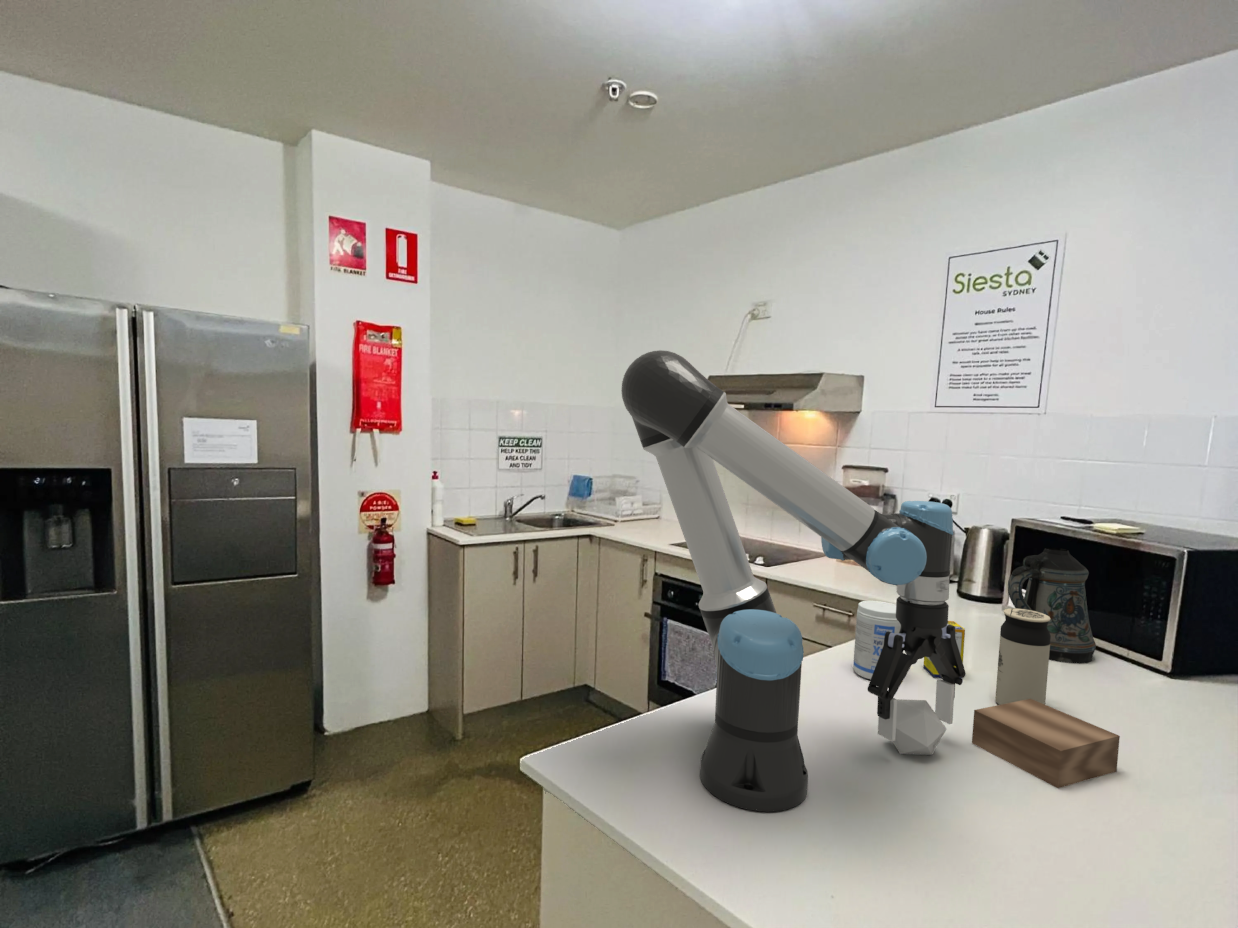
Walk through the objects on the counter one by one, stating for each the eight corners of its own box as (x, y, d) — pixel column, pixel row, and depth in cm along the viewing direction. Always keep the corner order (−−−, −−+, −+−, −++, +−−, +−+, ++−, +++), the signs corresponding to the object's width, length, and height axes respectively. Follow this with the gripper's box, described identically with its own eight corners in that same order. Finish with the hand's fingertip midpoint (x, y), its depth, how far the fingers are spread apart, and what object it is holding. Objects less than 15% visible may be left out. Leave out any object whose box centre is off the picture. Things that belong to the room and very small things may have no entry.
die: (937, 774, 97) (963, 717, 100) (887, 740, 98) (913, 685, 101) (912, 766, 105) (937, 713, 107) (866, 735, 106) (891, 683, 109)
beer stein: (1106, 656, 152) (1115, 552, 150) (1071, 671, 141) (1081, 559, 140) (1030, 636, 166) (1037, 540, 164) (993, 648, 155) (1001, 546, 153)
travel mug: (1048, 707, 121) (1055, 614, 120) (1039, 720, 116) (1047, 622, 115) (1000, 694, 127) (1007, 605, 126) (990, 705, 121) (997, 612, 120)
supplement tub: (876, 686, 129) (881, 614, 128) (842, 668, 137) (847, 601, 136) (912, 680, 132) (916, 610, 131) (877, 663, 141) (881, 598, 140)
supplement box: (950, 669, 139) (954, 620, 139) (962, 680, 134) (966, 628, 133) (922, 667, 140) (925, 618, 139) (932, 677, 134) (936, 626, 133)
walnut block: (1057, 790, 93) (1060, 750, 93) (971, 744, 106) (974, 709, 106) (1116, 773, 99) (1119, 735, 98) (1027, 731, 112) (1030, 698, 111)
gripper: (887, 614, 92) (880, 756, 94) (993, 596, 104) (986, 723, 105) (847, 601, 99) (841, 733, 100) (951, 585, 111) (945, 705, 112)
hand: (915, 728), depth 103 cm, fingers open, 13 cm apart
